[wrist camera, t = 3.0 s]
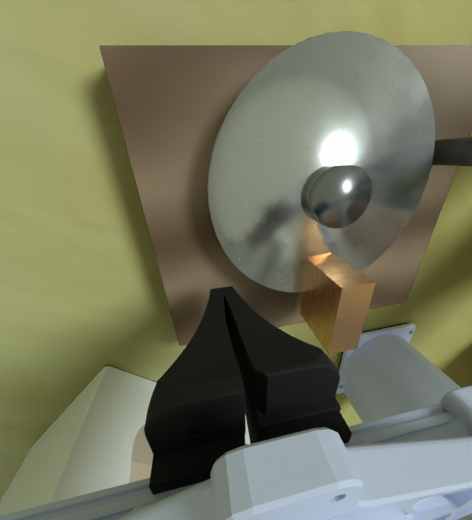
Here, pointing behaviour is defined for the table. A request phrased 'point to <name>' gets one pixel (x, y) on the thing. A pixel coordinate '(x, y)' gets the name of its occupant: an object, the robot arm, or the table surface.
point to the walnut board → (199, 153)
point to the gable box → (89, 444)
